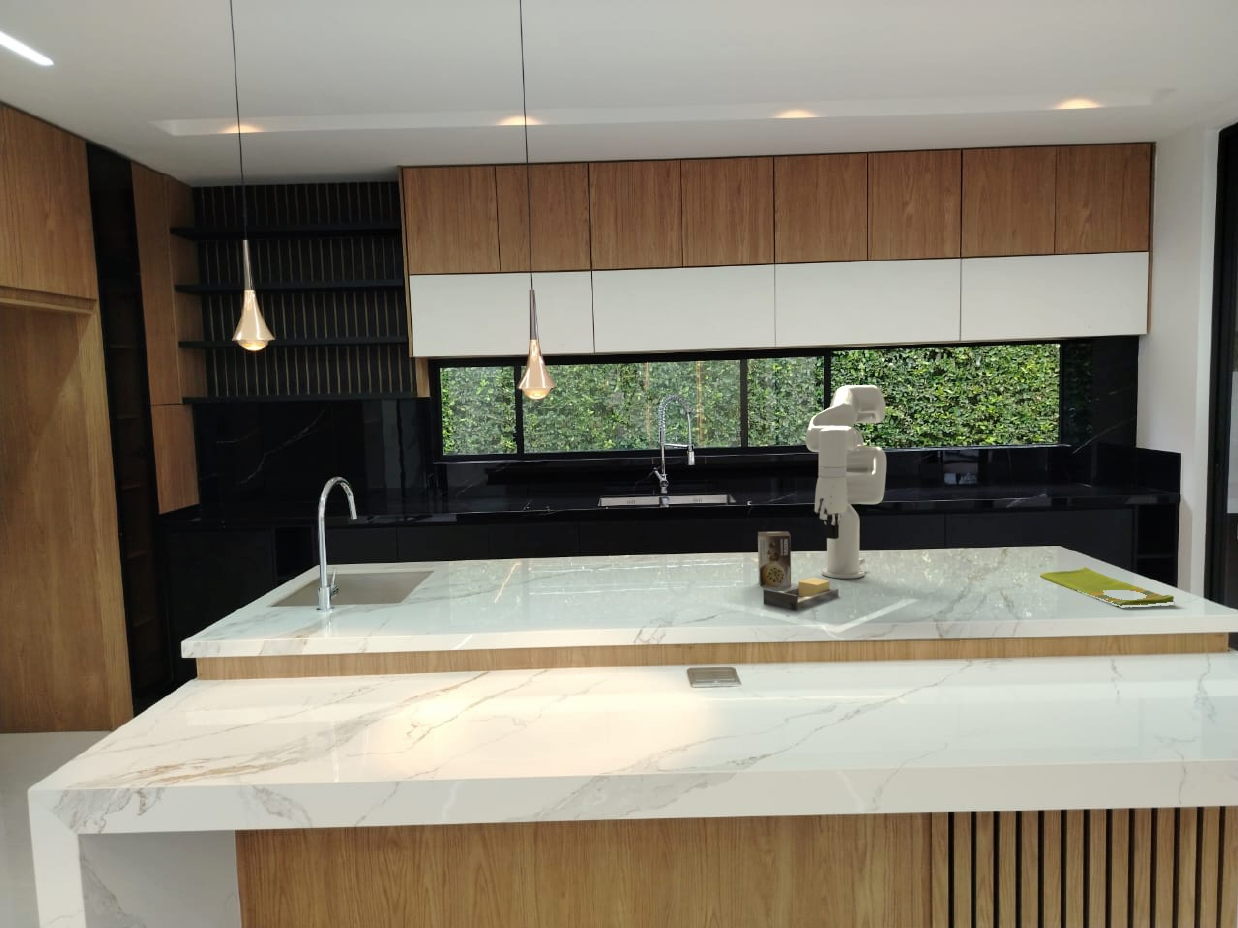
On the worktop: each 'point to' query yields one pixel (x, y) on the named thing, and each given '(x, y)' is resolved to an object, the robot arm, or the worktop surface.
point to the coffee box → (774, 558)
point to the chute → (796, 598)
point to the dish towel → (1102, 586)
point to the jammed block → (812, 586)
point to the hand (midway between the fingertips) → (832, 538)
